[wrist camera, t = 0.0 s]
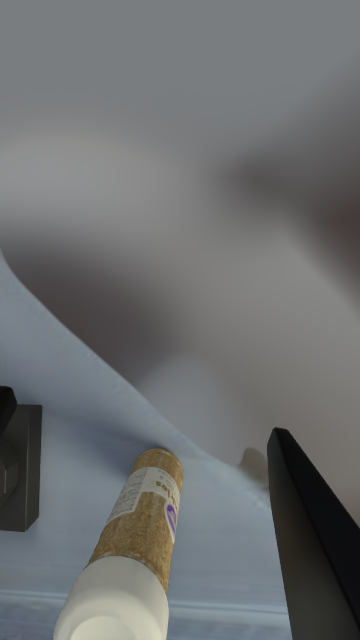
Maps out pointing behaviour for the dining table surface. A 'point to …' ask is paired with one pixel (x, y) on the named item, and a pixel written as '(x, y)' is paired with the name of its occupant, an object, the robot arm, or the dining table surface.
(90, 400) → the dining table surface
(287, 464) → the robot arm
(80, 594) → the sprinkles bottle
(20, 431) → the control block
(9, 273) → the dining table surface
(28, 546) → the dining table surface
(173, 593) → the dining table surface
